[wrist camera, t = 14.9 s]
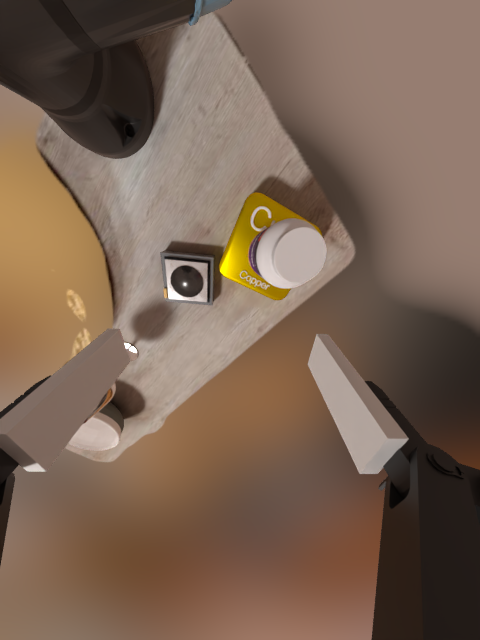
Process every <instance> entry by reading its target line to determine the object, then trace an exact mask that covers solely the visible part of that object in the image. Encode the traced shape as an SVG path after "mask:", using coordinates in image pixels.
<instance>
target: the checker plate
mask: <svg viewBox="0 0 480 640" xmlns="http://www.w3.org/2000/svg"><path fill="white" fill-rule="evenodd" d="M165 267H166V277H167V287H168V297H169V299H176V300H188V301H199V302H207V301H208V299H209V261H200V260H190V259H180V258H170V257H168V258H166V259H165Z"/></svg>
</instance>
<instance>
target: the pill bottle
mask: <svg viewBox="0 0 480 640" xmlns="http://www.w3.org/2000/svg"><path fill="white" fill-rule="evenodd" d="M326 255H327V248H326V243H325V241H324V239H323V237H322V236H321V234H320V233H319V232H318V231H317V230H316V229H315V228H314V227H313V226H312V225H311V224H310V223H308V222H306V221H304V220H301V219H296V218H289V219H284V220H281V221H279V222H277V223H275V224H273V225H272V226H270V227H268V228H267V229H265V230H263V231H261V232H260V233H259V234H257V235H256V236H255V238H254V239H253V240H252V242H251V244H250V247H249V251H248V259H249V263H250V266H251V268H252V269H253V270H254V272H255V273H256V274H258V275H259V276H260V277H262V278H263V279H264V280H266V281H267V282H268V283H270V284H271V285H273V286H275V287H278V288H284V289H290V288H295V287H298V286H300V285H302V284H304V283H306V282H307V281H309V280H311V279H312V278H314V277H315V276H316V275H317V274H318V273H319V272H320V271H321V269H322V267H323V266H324V263H325V260H326Z"/></svg>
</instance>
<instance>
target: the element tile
mask: <svg viewBox="0 0 480 640" xmlns="http://www.w3.org/2000/svg"><path fill="white" fill-rule="evenodd" d="M289 218H296V219H301V220H304V221H306V222H308V223H310V224H311V225H312V226H313V227H314V228H315V229H316V230H317V231H318V232H319V233H320V234H321V236H322V232H321V230H320V229H319V228H318V227H317V226H316V225H314V224H312V223H311V222H309V221H307V220H306V219H304V218H302V217H301V216H299V215H297V214H296V213H294V212H292V211H291V210H289V209H287V208H286V207H284V206H282V205H281V204H279V203H277V202H276V201H274V200H272V199H271V198H269V197H267V196H266V195H264V194H262V193H258V192H254V193H252V194H250V195H249V196H248V197H247V199H246V200H245V202H244V205H243V207H242V210H241V212H240V215H239V217H238V219H237V222H236V224H235V227H234V229H233V231H232V234H231V236H230V239H229V241H228V244H227V246H226V248H225V251H224V253H223V256H222V258H221V261H220V263H219V270H220V273H221V274H222V275H223V276H224V277H226V278H228V279H230V280H232V281H234V282H237V283H239V284H241V285H243V286H245V287H247V288H249V289H252V290H254V291H256V292H258V293H260V294H262V295H264V296H267V297H269V298H271V299H273V300H282V299H283V298H285V297H286V296H287V294H288V293H289V291H290V290H291V288H290V289H284V288H278V287H275V286H273V285H271V284H270V283H268V282H267V281H266V280H264V279H263V278H262V277H260V276H259V275H258V274H256V273H255V272H254V270H253V269H252V268H251V266H250V263H249V259H248V251H249V247H250V244H251V242H252V240H253V239H254V238H255V236H256V235H257V234H259V233H260V232H261V231H263V230H265V229H267V228H268V227H270V226H272V225H273V224H275V223H277V222H279V221H281V220H284V219H289Z"/></svg>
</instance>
